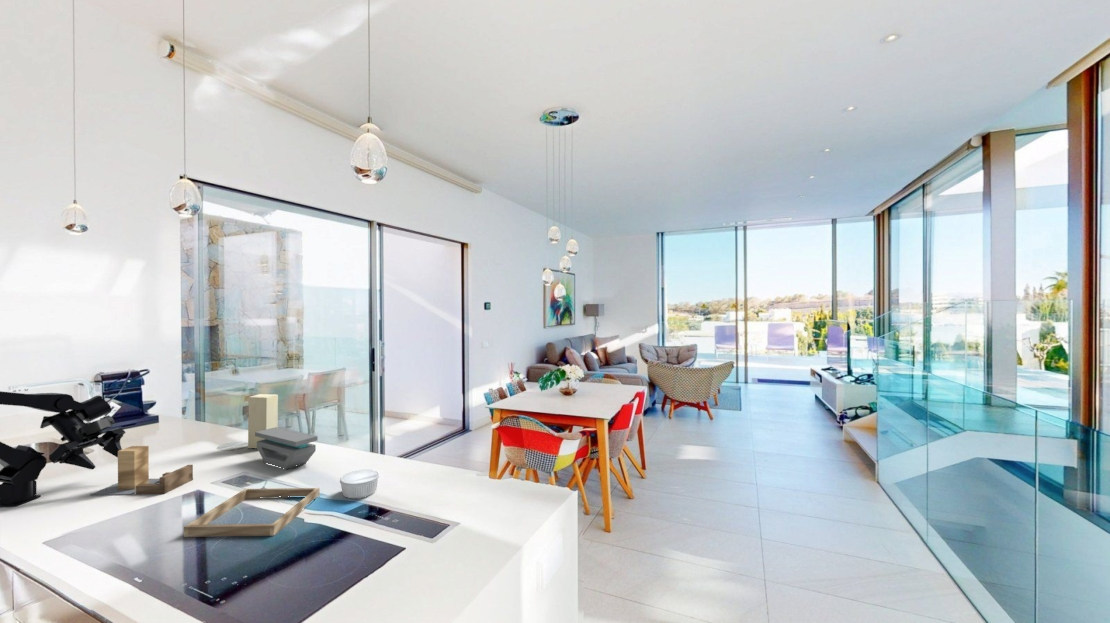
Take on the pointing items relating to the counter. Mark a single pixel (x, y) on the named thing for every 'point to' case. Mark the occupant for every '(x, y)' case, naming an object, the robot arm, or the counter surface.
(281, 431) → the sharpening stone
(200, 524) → the oak frame
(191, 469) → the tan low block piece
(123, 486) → the teak block
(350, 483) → the ramekin
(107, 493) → the charcoal rubber mat
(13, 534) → the counter surface
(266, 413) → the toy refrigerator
